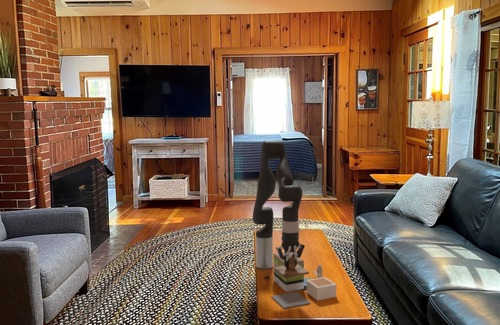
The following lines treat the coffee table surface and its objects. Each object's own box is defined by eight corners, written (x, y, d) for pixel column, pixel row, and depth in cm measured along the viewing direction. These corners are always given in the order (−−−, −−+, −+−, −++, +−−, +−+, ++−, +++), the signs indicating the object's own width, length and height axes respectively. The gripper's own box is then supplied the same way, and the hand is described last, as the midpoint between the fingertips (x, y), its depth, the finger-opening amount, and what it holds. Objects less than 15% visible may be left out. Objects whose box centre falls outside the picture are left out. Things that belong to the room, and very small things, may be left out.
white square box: (306, 292, 208) (306, 280, 208) (324, 288, 212) (324, 276, 211) (317, 300, 199) (317, 287, 198) (336, 296, 203) (336, 284, 202)
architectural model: (315, 282, 222) (315, 267, 221) (313, 276, 229) (313, 263, 228) (322, 282, 222) (322, 267, 221) (320, 276, 229) (320, 263, 228)
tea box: (273, 281, 222) (272, 253, 221) (291, 278, 226) (290, 250, 224) (285, 292, 208) (285, 262, 207) (304, 289, 212) (304, 259, 210)
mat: (271, 297, 203) (271, 296, 203) (296, 292, 208) (296, 291, 208) (284, 308, 191) (284, 307, 191) (310, 303, 196) (310, 302, 196)
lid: (272, 269, 201) (272, 254, 201) (296, 265, 206) (296, 250, 205) (284, 278, 190) (284, 262, 190) (309, 273, 195) (309, 258, 194)
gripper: (300, 226, 202) (300, 262, 204) (272, 229, 197) (272, 267, 199) (308, 230, 195) (308, 267, 197) (279, 233, 190) (280, 272, 192)
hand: (290, 267), depth 198 cm, fingers closed on lid, 3 cm apart
